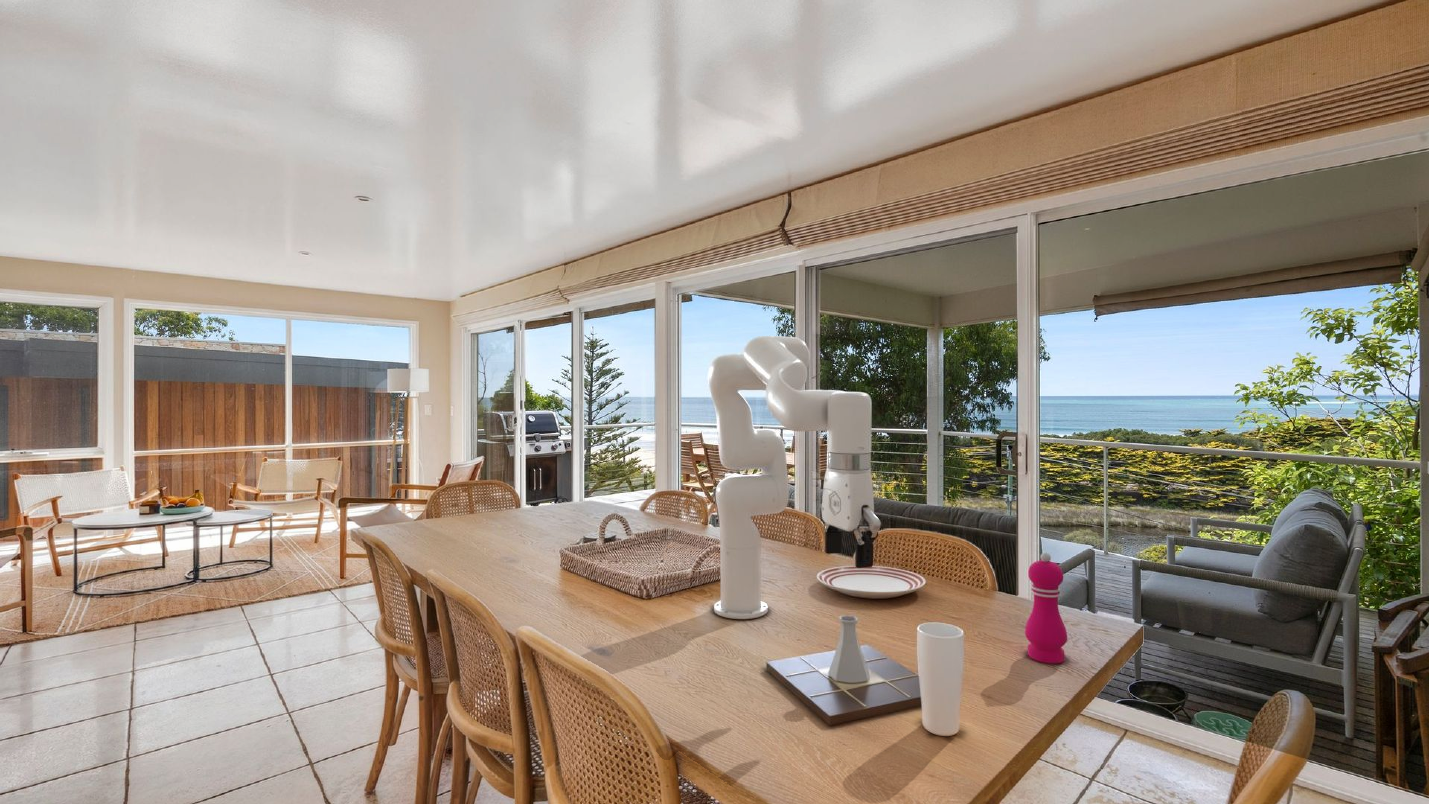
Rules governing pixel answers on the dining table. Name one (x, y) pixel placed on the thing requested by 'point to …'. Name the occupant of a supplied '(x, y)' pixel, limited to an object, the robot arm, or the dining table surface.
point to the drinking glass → (940, 676)
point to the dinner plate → (871, 581)
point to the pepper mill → (1045, 613)
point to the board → (848, 686)
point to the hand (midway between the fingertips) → (848, 559)
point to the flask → (848, 654)
